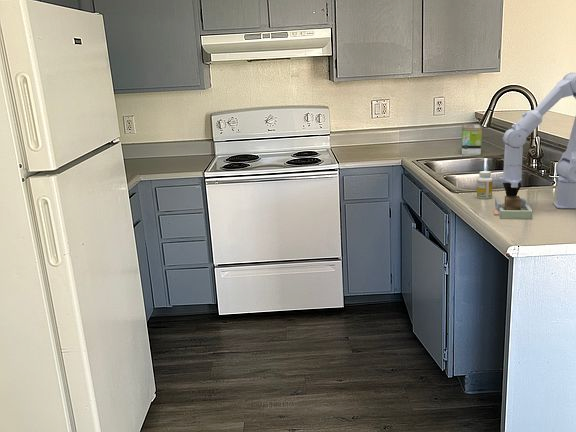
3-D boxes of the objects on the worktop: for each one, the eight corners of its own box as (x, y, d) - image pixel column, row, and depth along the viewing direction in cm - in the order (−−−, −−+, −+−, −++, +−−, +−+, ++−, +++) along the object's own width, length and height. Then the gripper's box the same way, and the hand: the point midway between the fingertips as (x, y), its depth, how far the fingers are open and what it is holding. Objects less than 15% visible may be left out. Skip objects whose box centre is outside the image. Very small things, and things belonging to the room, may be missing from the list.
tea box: (481, 155, 297) (482, 127, 293) (461, 155, 299) (462, 127, 296) (480, 150, 310) (481, 123, 307) (461, 150, 313) (461, 124, 309)
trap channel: (528, 205, 195) (528, 198, 195) (537, 219, 179) (537, 211, 178) (490, 204, 199) (490, 197, 198) (495, 218, 182) (495, 211, 181)
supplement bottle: (488, 195, 212) (489, 170, 209) (494, 198, 207) (495, 172, 204) (474, 196, 212) (475, 170, 209) (479, 199, 207) (480, 173, 204)
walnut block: (518, 208, 191) (518, 196, 190) (520, 212, 187) (521, 199, 186) (504, 208, 192) (504, 196, 191) (506, 212, 188) (506, 199, 187)
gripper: (498, 161, 197) (496, 198, 201) (502, 168, 184) (500, 208, 187) (519, 160, 195) (517, 198, 199) (525, 168, 182) (523, 209, 185)
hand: (510, 203), depth 193 cm, fingers closed
